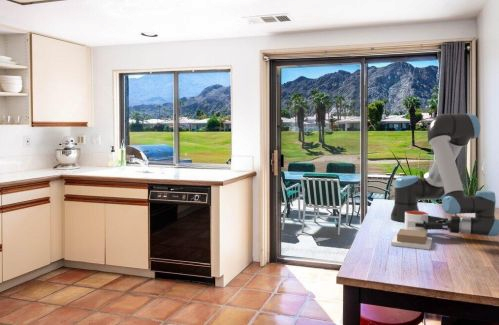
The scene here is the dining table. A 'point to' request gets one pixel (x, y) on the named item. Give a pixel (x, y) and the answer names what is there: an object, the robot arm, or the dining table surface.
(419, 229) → the cup
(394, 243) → the plinth
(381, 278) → the dining table surface
